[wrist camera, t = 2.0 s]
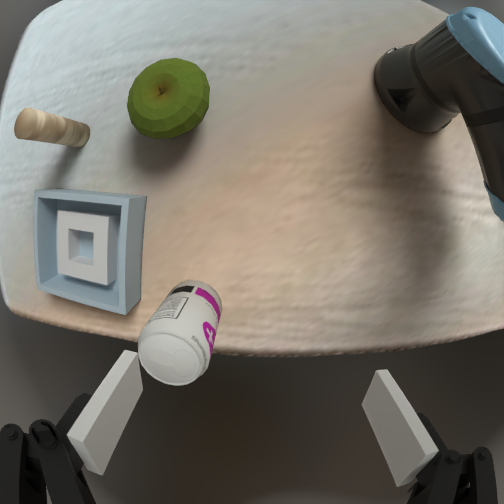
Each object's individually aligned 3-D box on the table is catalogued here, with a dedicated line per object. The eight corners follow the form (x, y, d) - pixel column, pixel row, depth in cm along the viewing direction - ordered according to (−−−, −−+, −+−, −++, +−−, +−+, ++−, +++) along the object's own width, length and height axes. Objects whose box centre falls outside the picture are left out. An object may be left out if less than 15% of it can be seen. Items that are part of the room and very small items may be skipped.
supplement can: (227, 286, 40) (214, 339, 25) (216, 333, 41) (200, 397, 27) (174, 271, 39) (135, 316, 25) (167, 319, 41) (132, 376, 26)
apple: (167, 70, 32) (144, 41, 23) (230, 90, 33) (222, 60, 23) (134, 132, 34) (101, 119, 25) (196, 156, 35) (176, 146, 26)
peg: (74, 124, 34) (18, 109, 20) (92, 123, 34) (36, 105, 20) (70, 147, 35) (11, 140, 21) (87, 147, 35) (29, 137, 21)
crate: (56, 188, 36) (34, 190, 30) (146, 196, 37) (129, 198, 31) (56, 278, 40) (37, 288, 34) (140, 299, 40) (125, 315, 34)
